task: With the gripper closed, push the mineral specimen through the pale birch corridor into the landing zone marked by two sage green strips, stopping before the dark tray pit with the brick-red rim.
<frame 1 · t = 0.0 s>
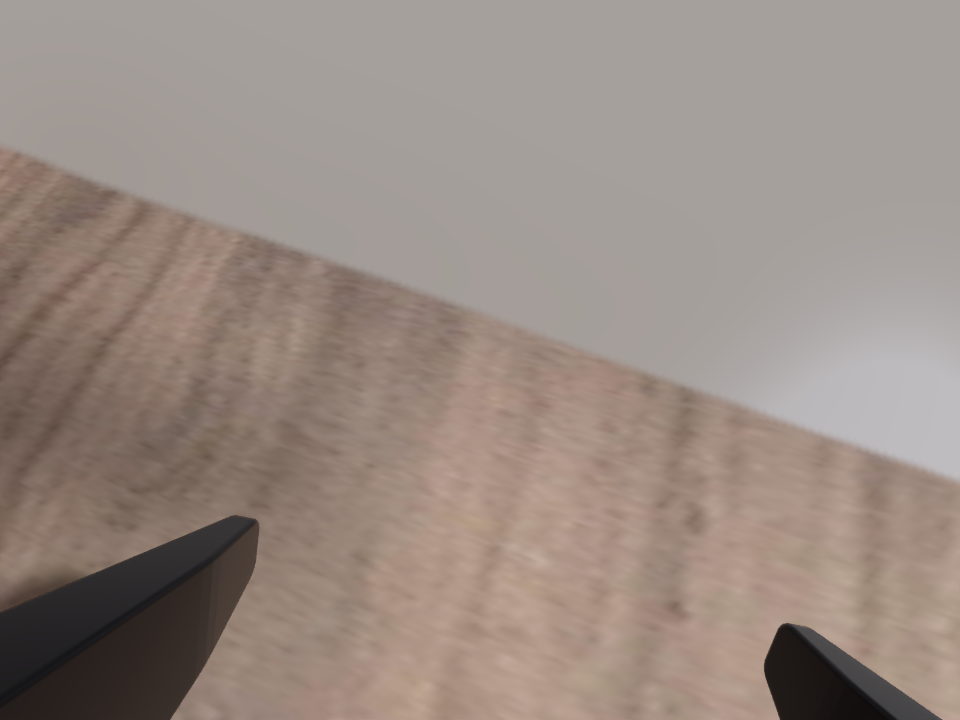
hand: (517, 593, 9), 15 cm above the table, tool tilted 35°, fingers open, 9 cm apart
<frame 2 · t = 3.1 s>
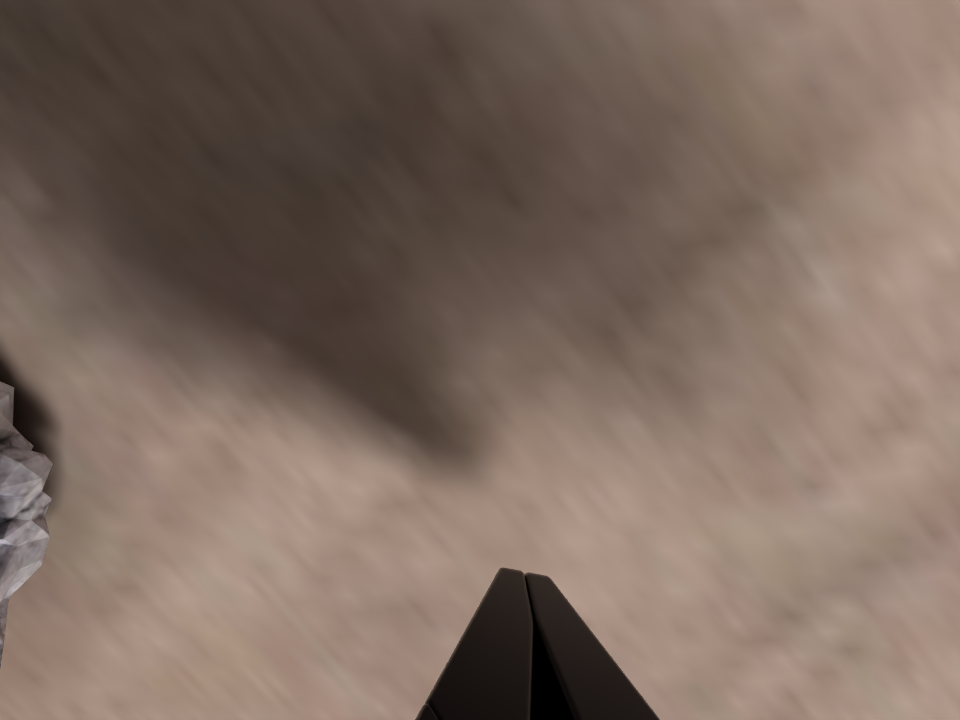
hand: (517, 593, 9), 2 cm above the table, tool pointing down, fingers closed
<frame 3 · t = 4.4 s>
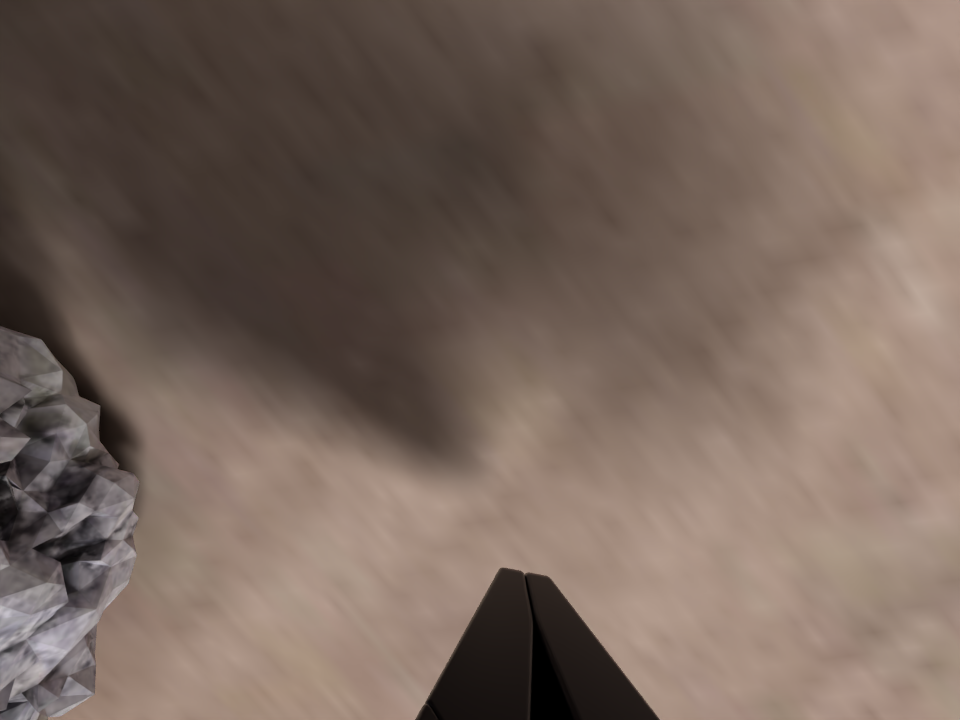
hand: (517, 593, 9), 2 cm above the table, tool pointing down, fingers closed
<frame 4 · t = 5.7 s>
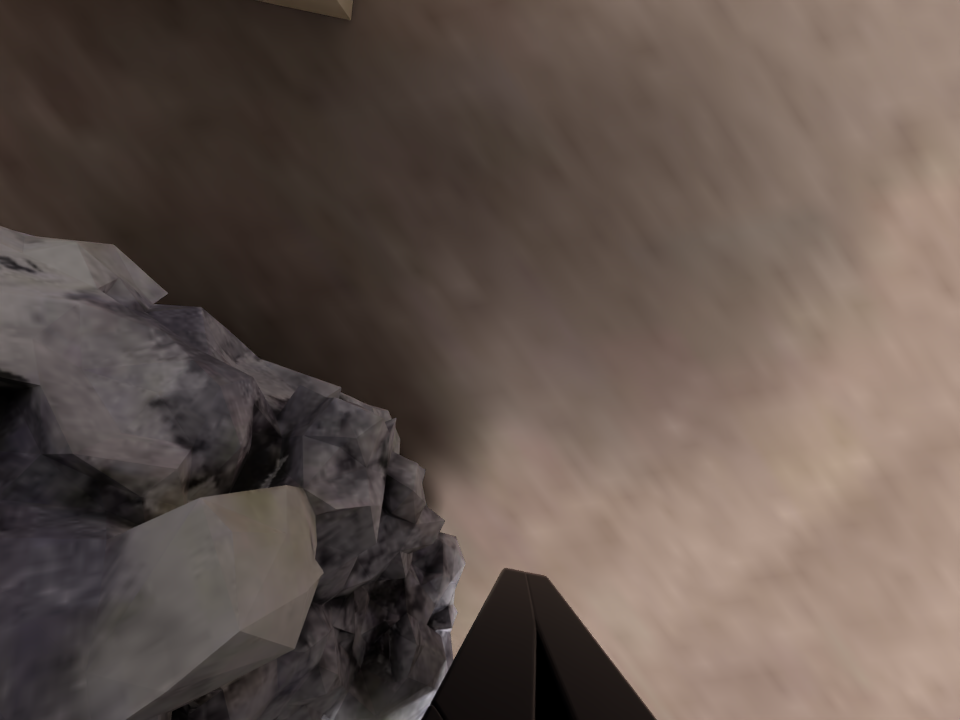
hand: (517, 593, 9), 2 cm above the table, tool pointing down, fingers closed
corridor walls: (53, 438, 10), on the table
mineral specimen: (253, 468, 11), on the table, touching gripper
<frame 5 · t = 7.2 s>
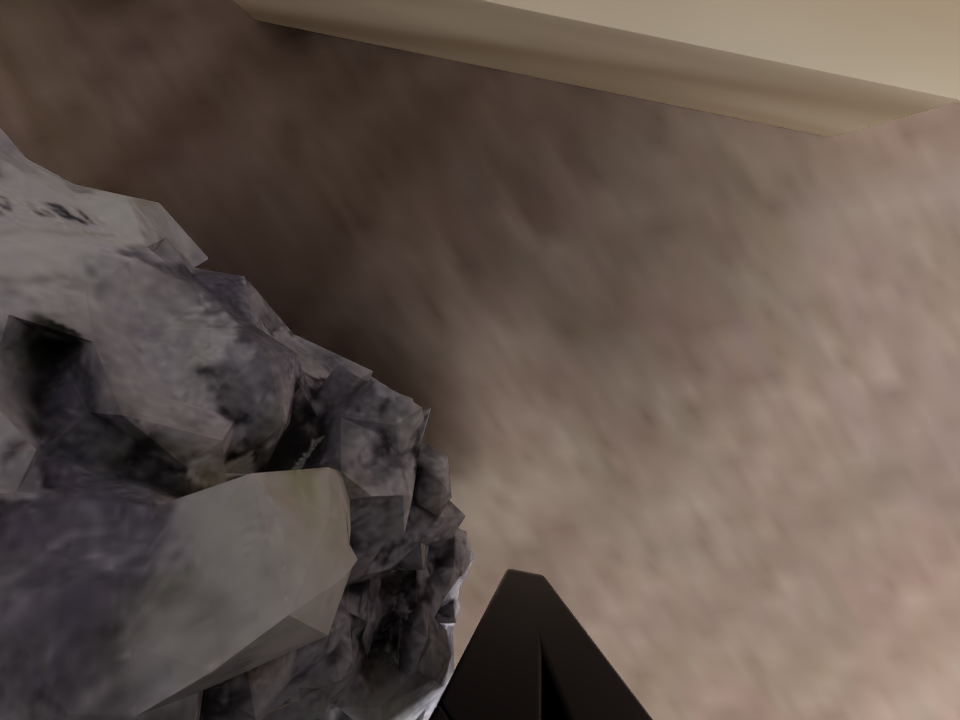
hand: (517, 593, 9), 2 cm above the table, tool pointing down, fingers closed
corridor walls: (459, 518, 11), on the table
mineral specimen: (265, 443, 10), on the table, touching gripper
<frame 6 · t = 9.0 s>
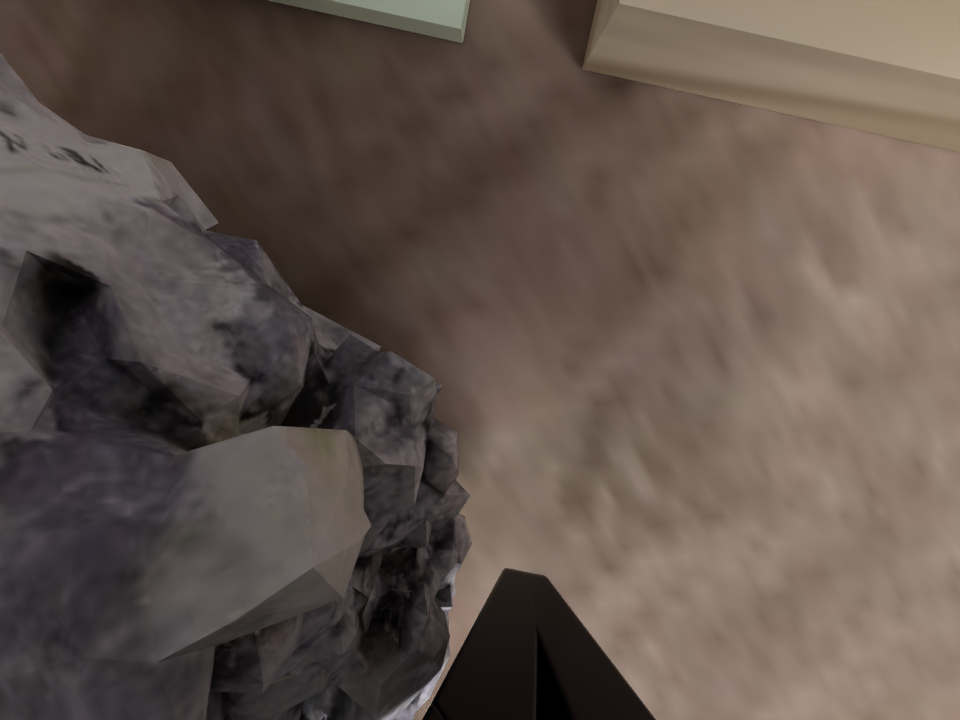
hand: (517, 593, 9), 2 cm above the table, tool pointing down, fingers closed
corridor walls: (713, 563, 11), on the table
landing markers: (92, 443, 10), on the table
mineral specimen: (261, 422, 10), on the table, touching gripper
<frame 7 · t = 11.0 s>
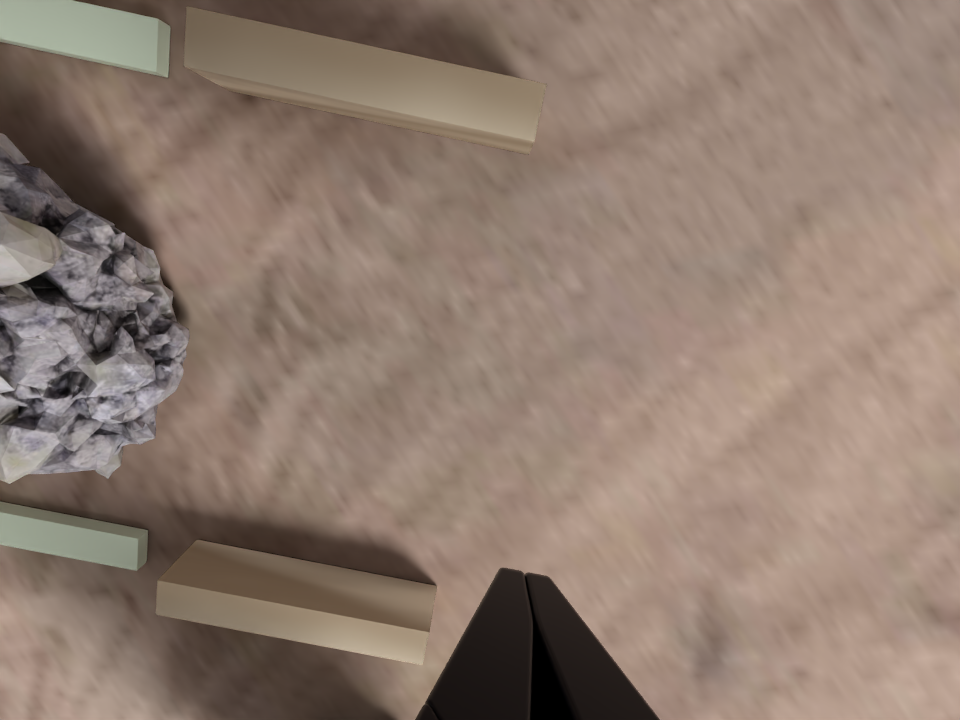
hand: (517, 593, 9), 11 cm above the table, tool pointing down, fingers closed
corridor walls: (345, 367, 19), on the table
mineral specimen: (88, 284, 18), on the table
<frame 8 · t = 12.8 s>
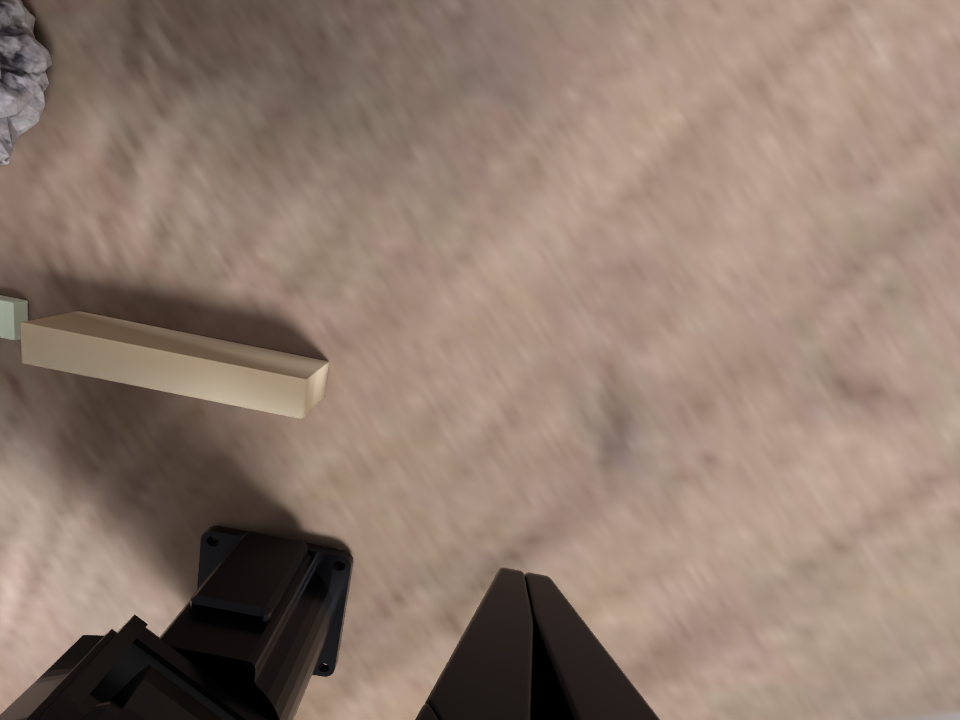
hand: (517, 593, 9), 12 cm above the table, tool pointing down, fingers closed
corridor walls: (219, 106, 18), on the table
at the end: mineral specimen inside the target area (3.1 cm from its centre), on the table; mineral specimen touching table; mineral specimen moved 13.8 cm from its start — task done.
